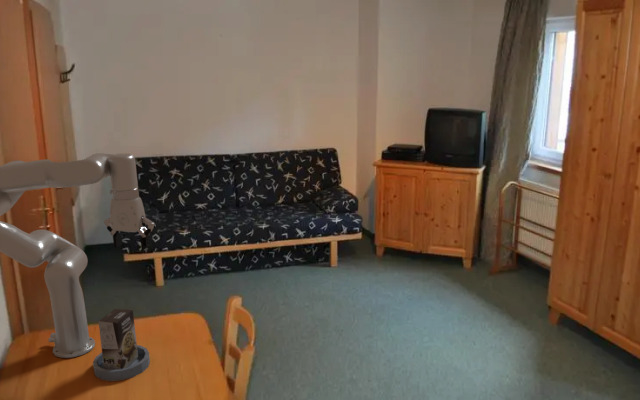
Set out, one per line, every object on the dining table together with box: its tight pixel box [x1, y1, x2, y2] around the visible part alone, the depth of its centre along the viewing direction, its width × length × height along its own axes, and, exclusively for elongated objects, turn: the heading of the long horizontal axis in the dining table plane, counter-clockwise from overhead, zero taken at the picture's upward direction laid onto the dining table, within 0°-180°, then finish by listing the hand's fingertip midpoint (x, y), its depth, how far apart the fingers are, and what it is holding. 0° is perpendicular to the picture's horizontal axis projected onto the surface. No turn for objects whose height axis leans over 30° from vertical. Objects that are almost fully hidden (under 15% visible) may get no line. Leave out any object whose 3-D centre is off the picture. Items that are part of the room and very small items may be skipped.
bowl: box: [92, 344, 151, 382], centre depth 172 cm, size 16×16×3 cm
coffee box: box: [98, 308, 138, 370], centre depth 170 cm, size 9×6×16 cm
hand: (131, 247), depth 178 cm, fingers open, 9 cm apart
